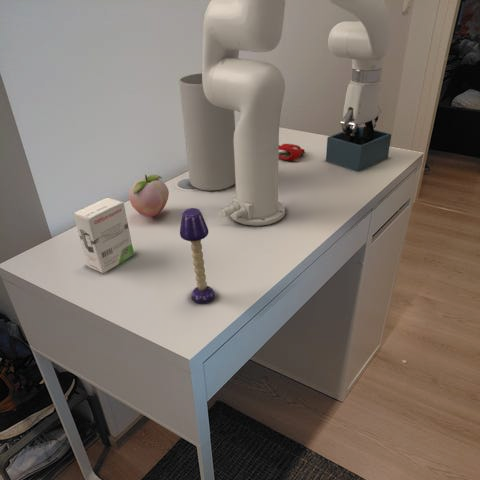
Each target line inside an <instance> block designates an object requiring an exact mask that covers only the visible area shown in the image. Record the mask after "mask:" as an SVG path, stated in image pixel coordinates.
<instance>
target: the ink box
mask: <svg viewBox="0 0 480 480" xmlns="http://www.w3.org/2000/svg"><path fill="white" fill-rule="evenodd" d="M72 215H73V218H74V221H75V225H76V228H77V232H78V235H79V240H80V243H81V246H82V250H83V254H84V258H85V261H86V265H87V267H88V268H90V269H93V270H95V271H97V272H99V273H101V274H105V273H107V272H108V271H110V270H112V269H113V268H115V267H116V266H118V265H119V264H121V263H123V262H125V261H126V260H128V259H130V258H131V257H133V256H134V255H135V252H134V248H133V247H134V246H133V243H132V238H131V232H130V228H129V222H128V218H127V213H126V206H125V203H124V202H123V201H121V200H117V199H114V198H111V197H105V198H103V199H100V200H99V201H96V202H94V203H91V204H90V205H89V206H86V207H84V208H81V209H79V210H76V211H75V212H73V213H72Z"/></svg>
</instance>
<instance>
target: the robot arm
mask: <svg viewBox="0 0 480 480" xmlns="http://www.w3.org/2000/svg"><path fill="white" fill-rule="evenodd" d="M327 1H328V2H330V3H332V4H333V5H335V6H337V7H339V8H341V9H343V10H345V11H347V12H348V13H350V14H351V15H353V16H354V17H355V18H357V20H358V21H348V20H345V21H341V22H338V23H337V24H336V25H334V26H333V27H332V28H331V30H330V32H329V34H328V38H327V46H328V47H327V48H328V50H329V52H330V53H331V54H332V55H333V56H335V57H338V58H341V59H349V60H350V59H351V60H352V61H351V71H350V82H349V83H348V86H347V90H346V93H345V99H344V105H343V111H342V119H341V121H340V123H339V124H340V126H341V129H342V132H343V131H344V134H345V140H344V141H347V142H351V143H355V140H356V136H355V132H356V129H357V127H358V126H361V125H363V124H364V126H362V127H363V135H362V137H364V138H366V139H367V136H366V132H367V131H368V132H367V135H368V139H370V138H371V139H370V141H373V134H374V130H375V128H376V126H377V122H378V121H379V117H380V115H381V113H382V108H381V107H380V103H381V102H380V101H381V82H382V81H381V80H382V73H383V65H384V58H385V56H386V55H387V54H388V51H389V49H390V46H391V40H392V39H391V38H392V32H391V23H390V18H389V17H390V16H389V11H388V8H387V5H386V2H385V1H384V0H327ZM285 8H286V0H210V1H209V3H208V5H207V6H206V9H205V12H204V16H203V24H202V25H203V26H202V57H201V58H202V61H201V64H202V65H201V66H202V67H201V73H202V83H203V90H204V93H205V96H206V98H207V99H208V101H209V102H210V103H211V104H213V105H215V106H218V107H221V108H225V109H230V110H234V112H239V113H240V117H239V120H238V122H237V124H236V125H235V131H234V160H235V182H236V183H235V197H233V198H232V203H231V204H230V205H229V206H227V207H223V208H222V209H220V210H219V213H220V216H221V217H222V218H224V219H225V218H227V217H229V216H230V218H231V219H232V220H233V221H235V222H236V223H238V224H242V225H245V226H254V227H255V226H256V227H257V226H266V225H271V224H275V223H277V222H279V221H280V220H281V219H283V218H284V217H285V214H286V208H285V206H284V205H283V204H282V202H280V201H279V169H280V167H279V165H280V163H279V161H280V160H279V159H280V158H279V156H280V150H279V146H280V124H281V123H280V121H281V114H282V107H283V102H284V98H285V92H286V91H285V89H286V83H285V78H284V74H283V73H282V72H281V70H280V69H279V68H278V67H277V66H276V65H274V64H272V63H270V62H267V61H264V60H257V59H250V58H241V57H239V55H240V51H242V52H249V53H250V52H251V53H269V52H272V51H273V50H275V49H276V48H277V47H278V46H279V44H280V42H281V38H282V35H283V30H284V29H283V28H284V19H285ZM351 128H352V130H351ZM362 142H364V139H362Z"/></svg>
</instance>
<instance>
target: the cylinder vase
mask: <svg viewBox="0 0 480 480" xmlns="http://www.w3.org/2000/svg"><path fill="white" fill-rule="evenodd" d="M178 84H179V91H180V92H179V94H180V103H181V112H182V121H183V130H184V140H185V151H186V160H187V168H188V178H189V179H188V180H189V184H190V185H191V186H192V187H194V188H195V189H198V190H201V191H209V192H210V191H211V192H212V191H213V192H215V191H221V190H226V189H228V188H231V187H232V186H234V185H236V182H235V160H234V131H235V128H236V117H235V116H236V115H235V110H230V109H225V108H221V107H218V106H215V105H213V104H211V103H210V102H209V101H208V99H207V98H206V96H205V93H204V90H203V83H202V72H199V73H192V74H188V75H184V76H182V77H180V78H179V79H178Z"/></svg>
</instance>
